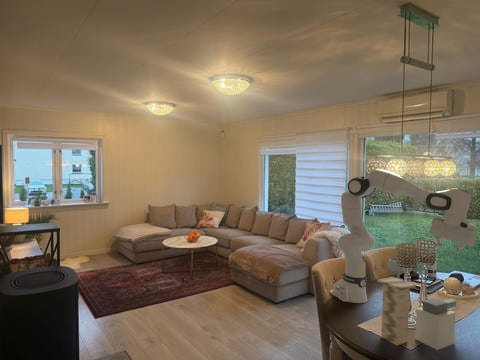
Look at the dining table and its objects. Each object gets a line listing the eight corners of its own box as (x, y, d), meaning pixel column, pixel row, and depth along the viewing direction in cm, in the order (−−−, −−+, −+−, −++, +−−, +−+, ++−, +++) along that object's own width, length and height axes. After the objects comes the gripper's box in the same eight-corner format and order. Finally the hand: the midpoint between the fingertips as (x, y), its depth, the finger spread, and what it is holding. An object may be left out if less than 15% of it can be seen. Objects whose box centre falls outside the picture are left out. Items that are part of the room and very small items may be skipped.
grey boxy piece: (422, 309, 146) (422, 300, 146) (446, 302, 154) (446, 294, 154) (435, 315, 141) (436, 305, 141) (460, 307, 149) (460, 299, 149)
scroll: (414, 281, 227) (415, 252, 226) (392, 275, 238) (393, 248, 238) (422, 277, 236) (423, 249, 236) (402, 272, 248) (403, 245, 247)
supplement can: (431, 274, 244) (432, 254, 243) (438, 277, 235) (439, 257, 235) (420, 274, 243) (421, 254, 243) (427, 277, 235) (428, 257, 235)
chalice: (390, 276, 236) (390, 255, 236) (411, 281, 227) (412, 259, 227) (384, 281, 225) (385, 259, 225) (406, 286, 217) (407, 263, 216)
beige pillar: (375, 335, 150) (377, 279, 149) (390, 331, 155) (392, 276, 154) (398, 348, 139) (400, 288, 139) (413, 343, 144) (416, 284, 143)
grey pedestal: (415, 339, 148) (416, 308, 147) (431, 333, 153) (433, 303, 153) (437, 350, 139) (438, 317, 138) (454, 343, 144) (455, 312, 144)
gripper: (429, 216, 167) (424, 242, 168) (473, 226, 150) (467, 256, 151) (436, 216, 171) (431, 242, 172) (480, 227, 153) (474, 256, 154)
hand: (448, 248), depth 161 cm, fingers open, 8 cm apart
